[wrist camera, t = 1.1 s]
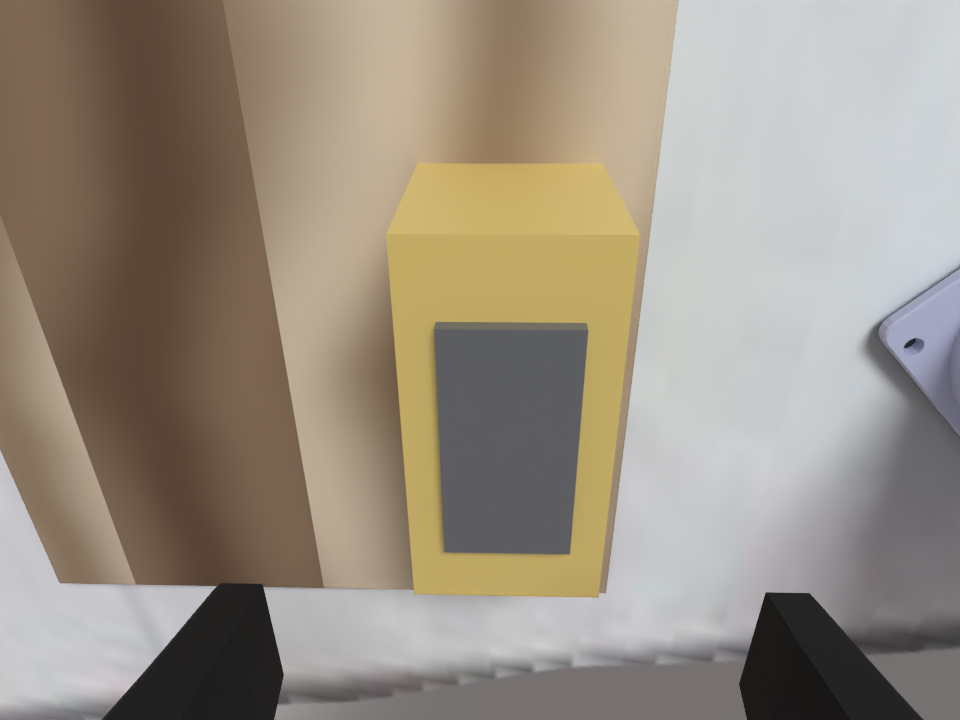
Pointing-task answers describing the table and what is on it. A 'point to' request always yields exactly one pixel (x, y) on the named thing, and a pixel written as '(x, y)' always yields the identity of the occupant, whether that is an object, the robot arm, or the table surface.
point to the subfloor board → (263, 257)
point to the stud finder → (510, 372)
